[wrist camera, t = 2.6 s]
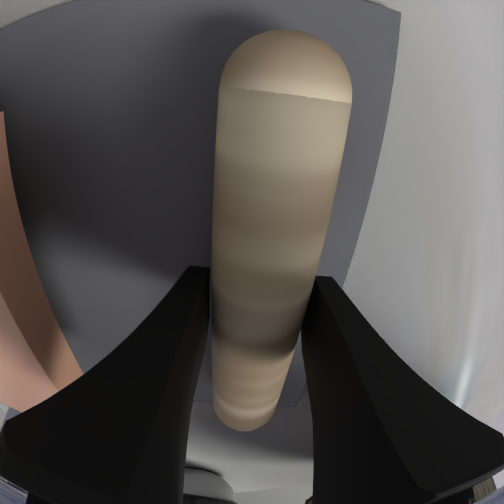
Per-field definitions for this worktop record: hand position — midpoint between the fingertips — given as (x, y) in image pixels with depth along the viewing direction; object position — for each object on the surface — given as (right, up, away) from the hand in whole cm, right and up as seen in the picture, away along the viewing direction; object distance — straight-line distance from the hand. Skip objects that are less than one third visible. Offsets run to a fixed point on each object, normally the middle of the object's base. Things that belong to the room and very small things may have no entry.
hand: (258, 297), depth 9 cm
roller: (0, +1, +1) cm, 1 cm away
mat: (-17, +2, +1) cm, 17 cm away
